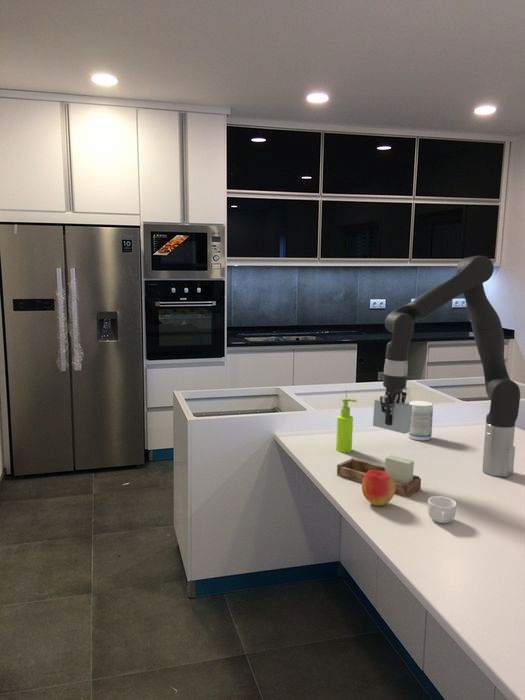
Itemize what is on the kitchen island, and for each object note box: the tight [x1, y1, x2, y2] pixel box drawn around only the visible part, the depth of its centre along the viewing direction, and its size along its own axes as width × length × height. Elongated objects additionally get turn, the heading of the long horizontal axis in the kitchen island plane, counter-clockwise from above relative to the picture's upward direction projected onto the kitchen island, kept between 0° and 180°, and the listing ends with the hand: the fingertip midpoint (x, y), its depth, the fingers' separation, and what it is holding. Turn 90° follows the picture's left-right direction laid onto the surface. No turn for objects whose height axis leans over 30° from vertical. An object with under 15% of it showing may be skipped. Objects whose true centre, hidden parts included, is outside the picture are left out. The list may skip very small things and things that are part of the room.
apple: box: [361, 470, 396, 507], centre depth 168 cm, size 10×10×10 cm
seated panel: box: [384, 454, 415, 485], centre depth 180 cm, size 8×4×9 cm, turn 48°
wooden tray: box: [336, 457, 422, 498], centre depth 185 cm, size 26×8×4 cm, turn 48°
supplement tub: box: [407, 400, 434, 442], centre depth 234 cm, size 10×10×15 cm
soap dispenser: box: [335, 398, 357, 453], centre depth 216 cm, size 6×7×20 cm
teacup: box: [427, 495, 457, 524], centre depth 157 cm, size 10×8×5 cm
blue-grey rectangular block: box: [372, 398, 412, 435], centre depth 189 cm, size 12×4×9 cm, turn 47°
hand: (391, 423), depth 189 cm, fingers closed on blue-grey rectangular block, 3 cm apart
